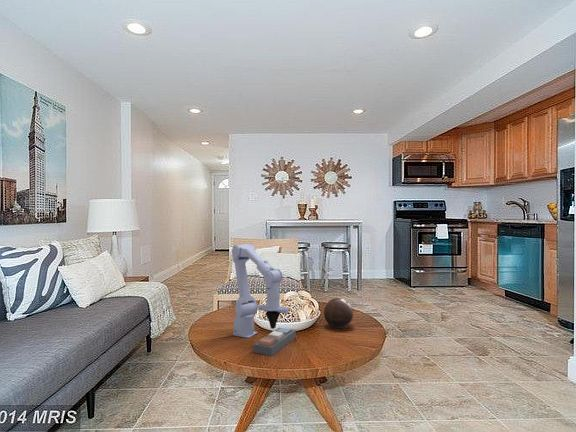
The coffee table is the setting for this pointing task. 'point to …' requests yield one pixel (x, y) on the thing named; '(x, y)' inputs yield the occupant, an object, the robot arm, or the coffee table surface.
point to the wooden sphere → (338, 313)
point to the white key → (276, 335)
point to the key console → (275, 344)
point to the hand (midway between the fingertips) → (273, 327)
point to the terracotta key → (267, 341)
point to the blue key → (284, 330)
